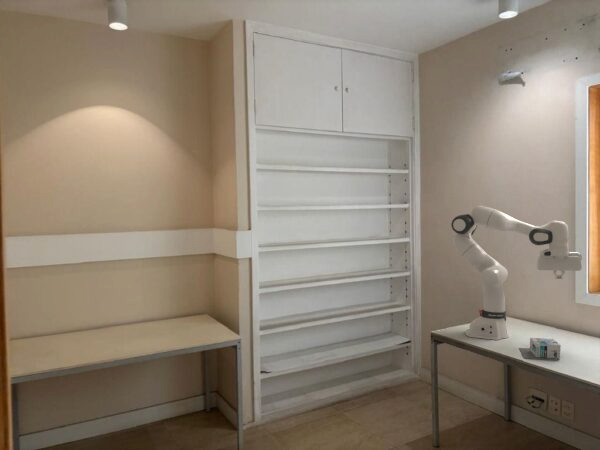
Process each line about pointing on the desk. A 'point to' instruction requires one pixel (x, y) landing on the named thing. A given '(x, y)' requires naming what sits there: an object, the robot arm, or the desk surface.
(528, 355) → the rubber mat
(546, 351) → the light bulb box
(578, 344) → the desk surface
